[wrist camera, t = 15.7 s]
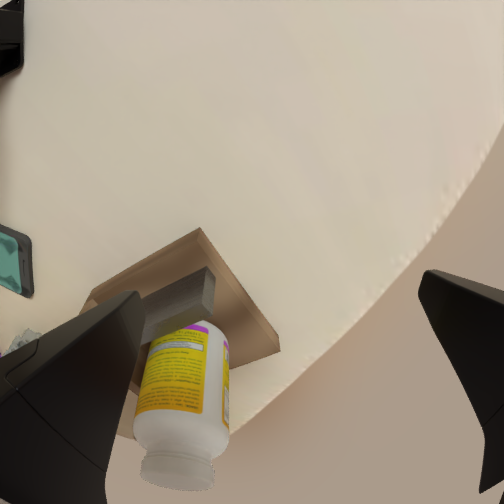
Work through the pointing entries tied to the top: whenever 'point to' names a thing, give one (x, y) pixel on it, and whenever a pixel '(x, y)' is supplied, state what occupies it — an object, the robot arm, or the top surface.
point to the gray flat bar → (179, 304)
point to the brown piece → (225, 299)
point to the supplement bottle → (184, 407)
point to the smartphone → (16, 262)
